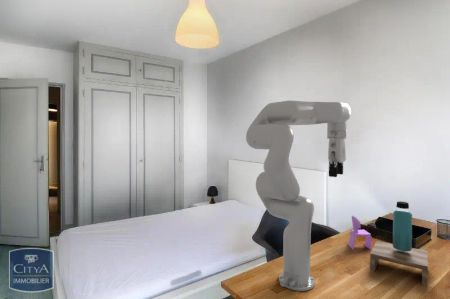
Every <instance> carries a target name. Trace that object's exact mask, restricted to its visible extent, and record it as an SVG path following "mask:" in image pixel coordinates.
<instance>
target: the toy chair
mask: <svg viewBox="0 0 450 299" xmlns="http://www.w3.org/2000/svg"><path fill="white" fill-rule="evenodd" d="M351 222H352V229H350V233H349V240H348V242H347V246H348V247H350V248H351V249H352V250H354V249H355V243H356V239H357V238H358V237H365V241H364V244H363V245H364V246H365V247H366V248H367V249H369V250H371V251H372V240H373V238H372V234H371V233H370V232H368V231H367V230H365V229H361V228H362V226H361V221H360V220H359V219H358V217H356V216H355V215H352V216H351Z"/></svg>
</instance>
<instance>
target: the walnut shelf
mask: <svg viewBox="0 0 450 299" xmlns="http://www.w3.org/2000/svg"><path fill="white" fill-rule="evenodd" d="M428 253H429V251H428V250H424V249H419V248H414V247H412V249H411V251H400V250H397V249H395V248H394V247H393V244H392V243H390V242H389V243H388V242H384V241H379V240H376V241H375V243H374V245H373V247H372V248H371V251H370V253H369V254H370V255H369V256H370V257H369V271H370V272H374V273H375V271H376V269H377V266H378V264H379V261H380V260H381V261H385V262H389V263H392V264H398V265H402V266H406V267H411V268H413V269H414V268H415V269H419V270H421V272H422V273H421V284H422V286H425V287H428V277H429V276H428V273H429V272H428V271H429V270H428V269H429V267H428V266H429V264H428V262H429V259H428V258H429V254H428Z"/></svg>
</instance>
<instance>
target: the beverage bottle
mask: <svg viewBox="0 0 450 299" xmlns="http://www.w3.org/2000/svg"><path fill="white" fill-rule="evenodd" d="M396 208H399V209H396V210H394V211H393V214H392V215H393V216H392V243H391V244H393V247H394V248H395V249H397V250H400V251H411V249H412V248H413V247H412V246H413V214H412V213H411V212H410V211H409V210H408V209H410V206H409V202H407V201H397V202H396Z"/></svg>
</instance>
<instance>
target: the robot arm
mask: <svg viewBox="0 0 450 299" xmlns="http://www.w3.org/2000/svg"><path fill="white" fill-rule="evenodd" d="M351 114H352V111H351V107H350V106H349V104H348V103H345V102H339V101H337V102H335V101H306V100H305V101H302V100H284V101H283V100H282V101H275V102H270V103H267V104H266V105H265V106H264V107H263V108H261V111H260V112H258V114H257V115H256V117H255V118H254V119H253V121H252V122H251V124H250V125H249V126H248V128H247V130H246V133H245V135H246V136H245V140H246V143H247V145H248V146H249V147H251V148H252V149H254V150H255V149H256V150H268V152H267V155H266V158H265V159H264V162H263V171H262V172H260V173H259V174H258V176H257V177H256V181H255V190H256V192H257V195H258V197H259V199H260V200H261V202H262V203H263V206H264V207H265V209H266V210H267V212H268V213H269V214H270V215H271V216H273V217H276V218H279V219H283V220H286V221H288V225H286V227H285V228H284V230H283V244H282V245H283V246H282V247H283V249H282V250H283V252H282V257H283V260H282V266H283V267H282V272H281V273H280V274H279V275H278V280H279V285H280V286H281V287H285V288H286V289H289V290H292V291H295V292H296V291H298V292H304V291H310V290H311V289H313V288H314V287H315V279H314V277H313V276H312V275H311V249H312V248H311V240H312V238H311V236H312V235H311V233H312V222H313V217H314V213H315V207H314V203H313V202H312V200H311V199H310V198H308V197H305V196H302V195H300V194H301V193H300V192H301V188H300V184H299V182H298V180H297V178H296V175H295V173H294V172H293V169H292V166H291V164H290V161H289V160H290V153H291V149H292V146H293V143H294V131H293V129H292V127H291V126H308V125H311V126H312V125H321V124H327V128H326V129H327V130H326V132H327V133H326V135H327V136H326V139H327V140H328V151H327V152H328V153H327V156H328V157H327V158H328V159H327V160H328V177H330V178H337V177H338V175H344V162H346V160H347V158H346V156H347V155H346V141H345V139H347V122H348V120H349V119H350V118H351Z"/></svg>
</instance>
